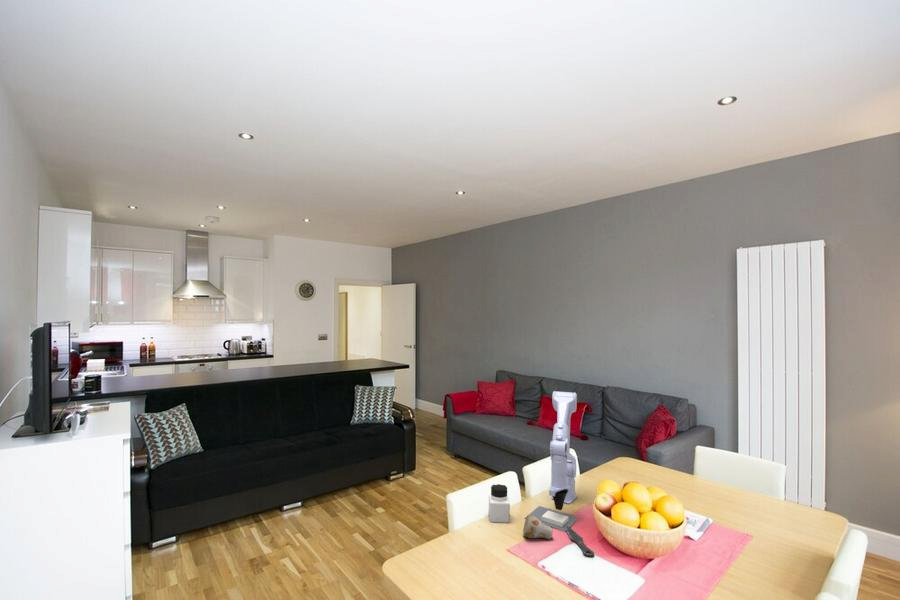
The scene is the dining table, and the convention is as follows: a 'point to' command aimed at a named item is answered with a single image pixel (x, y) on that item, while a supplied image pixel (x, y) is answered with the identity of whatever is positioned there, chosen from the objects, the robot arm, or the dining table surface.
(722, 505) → the dining table surface
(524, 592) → the dining table surface
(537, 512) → the mat
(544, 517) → the tile
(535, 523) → the mug
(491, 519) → the medicine bottle
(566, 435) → the robot arm
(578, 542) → the throwing knife
